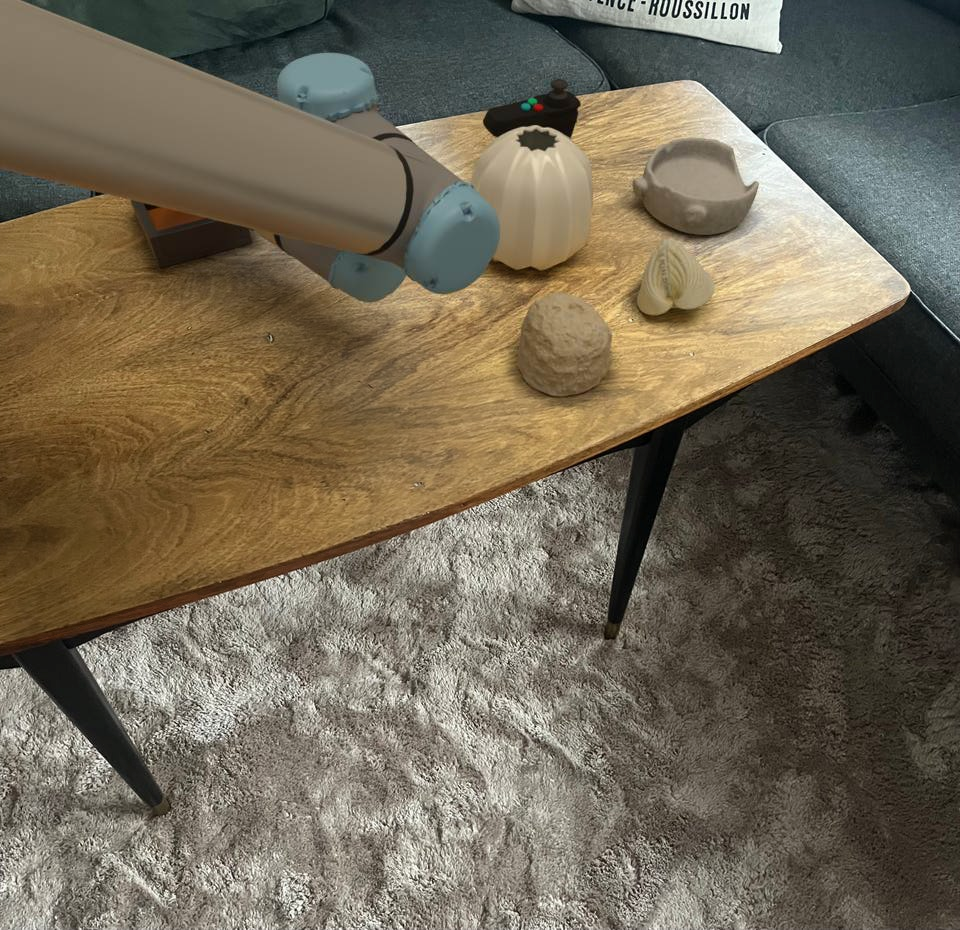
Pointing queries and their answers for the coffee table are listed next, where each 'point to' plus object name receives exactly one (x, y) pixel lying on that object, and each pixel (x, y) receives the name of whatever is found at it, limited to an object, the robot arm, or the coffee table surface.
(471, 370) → the coffee table surface
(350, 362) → the coffee table surface
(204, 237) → the square wooden tray
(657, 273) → the seashell
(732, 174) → the dish
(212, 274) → the coffee table surface
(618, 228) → the coffee table surface
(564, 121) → the controller
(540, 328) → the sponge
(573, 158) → the vase
